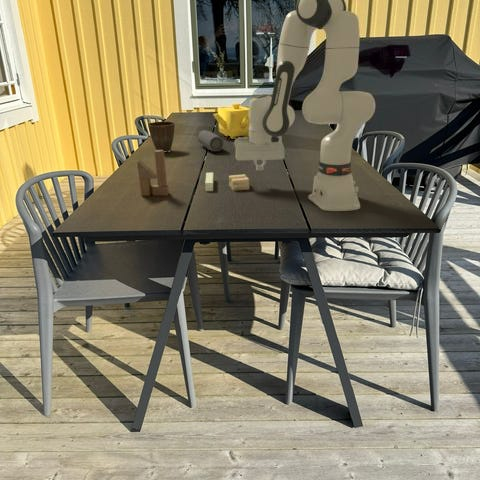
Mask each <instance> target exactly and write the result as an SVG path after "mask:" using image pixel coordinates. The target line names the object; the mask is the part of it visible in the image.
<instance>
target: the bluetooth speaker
mask: <svg viewBox="0 0 480 480" xmlns="http://www.w3.org/2000/svg"><path fill="white" fill-rule="evenodd" d="M197 140H198V142H199V143H200V145H202V146H203V147H204V148H205V149H206V148H207V149H206V150H207V151H209V150H211V151H210V152H219V151H221V150H222V149H223V147H224V140H223V139H222V138H221V137H220V136H219V135H218V134H216V133H215V132H213V131H209V130H206V129H205V130H203V129H202V130H200V132H198V136H197Z"/></svg>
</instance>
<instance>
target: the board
mask: <svg viewBox="0 0 480 480" xmlns="http://www.w3.org/2000/svg"><path fill="white" fill-rule="evenodd" d="M204 184H205V185H204V186H205V192H214V172H206V173H205V183H204Z"/></svg>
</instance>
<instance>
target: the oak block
mask: <svg viewBox="0 0 480 480" xmlns="http://www.w3.org/2000/svg"><path fill="white" fill-rule="evenodd" d="M228 186H229V187H230V189H231V190H232V191H234V192H235V191H243V190H250V178H249V177H248V176H247V175H246V174H245V173H243V174H233V175H229V176H228Z"/></svg>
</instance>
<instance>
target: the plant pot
mask: <svg viewBox="0 0 480 480" xmlns="http://www.w3.org/2000/svg"><path fill="white" fill-rule="evenodd" d="M147 126H148V132H149V136H150V138H151V141H152V143H153V146H154V148H155V151H156V150H163V151H169V150H170V151H172V146H173V141H174V137H175V136H174V135H175V122H174V121H153V122H149V123H147Z"/></svg>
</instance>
